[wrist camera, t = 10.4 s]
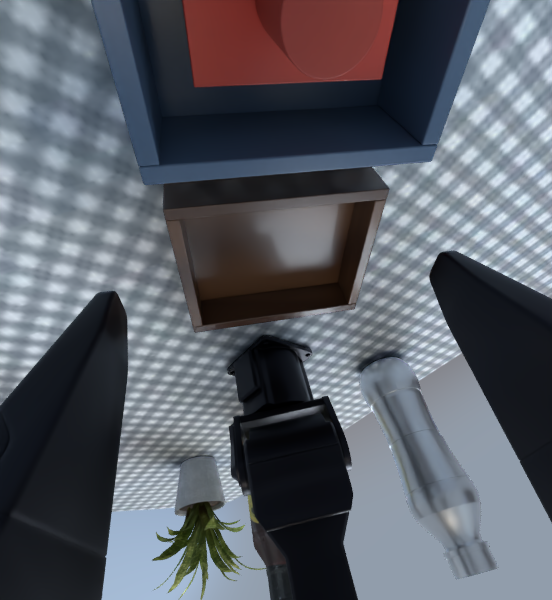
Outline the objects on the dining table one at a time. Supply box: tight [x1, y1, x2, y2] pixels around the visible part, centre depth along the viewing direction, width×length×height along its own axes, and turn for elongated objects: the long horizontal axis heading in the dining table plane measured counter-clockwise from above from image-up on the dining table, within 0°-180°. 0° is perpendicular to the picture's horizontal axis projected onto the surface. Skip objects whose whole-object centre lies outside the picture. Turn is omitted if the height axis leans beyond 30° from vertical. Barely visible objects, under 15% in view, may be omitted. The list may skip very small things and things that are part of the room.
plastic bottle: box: [359, 357, 498, 579], centre depth 35 cm, size 6×7×20 cm
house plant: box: [153, 456, 267, 600], centre depth 47 cm, size 14×14×16 cm
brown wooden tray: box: [163, 167, 389, 333], centre depth 23 cm, size 10×12×3 cm
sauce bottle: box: [248, 495, 293, 600], centre depth 40 cm, size 7×6×20 cm
